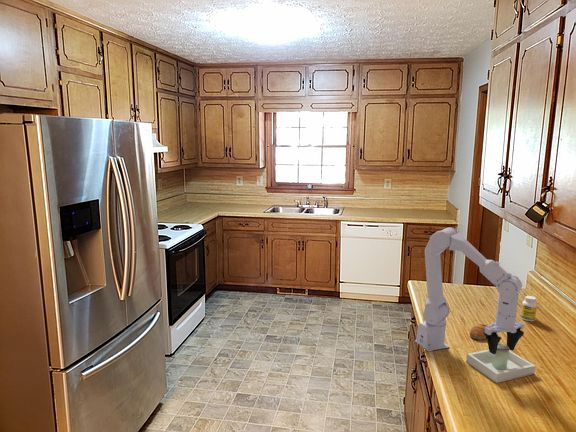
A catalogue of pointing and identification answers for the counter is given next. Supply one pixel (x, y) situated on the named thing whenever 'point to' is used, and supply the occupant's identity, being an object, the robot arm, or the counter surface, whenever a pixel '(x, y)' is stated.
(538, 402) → the counter surface
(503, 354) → the tin
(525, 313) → the supplement bottle
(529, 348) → the counter surface
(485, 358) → the bin
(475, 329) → the pastry
